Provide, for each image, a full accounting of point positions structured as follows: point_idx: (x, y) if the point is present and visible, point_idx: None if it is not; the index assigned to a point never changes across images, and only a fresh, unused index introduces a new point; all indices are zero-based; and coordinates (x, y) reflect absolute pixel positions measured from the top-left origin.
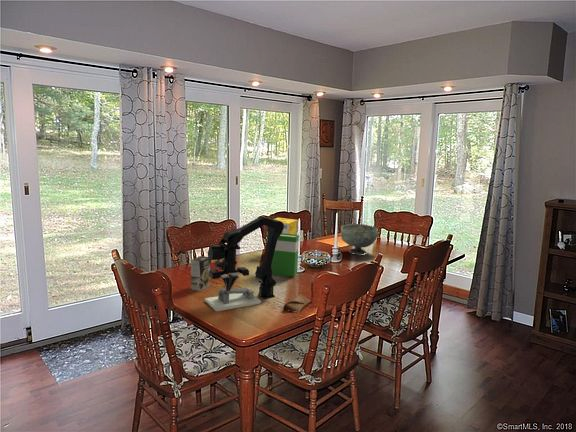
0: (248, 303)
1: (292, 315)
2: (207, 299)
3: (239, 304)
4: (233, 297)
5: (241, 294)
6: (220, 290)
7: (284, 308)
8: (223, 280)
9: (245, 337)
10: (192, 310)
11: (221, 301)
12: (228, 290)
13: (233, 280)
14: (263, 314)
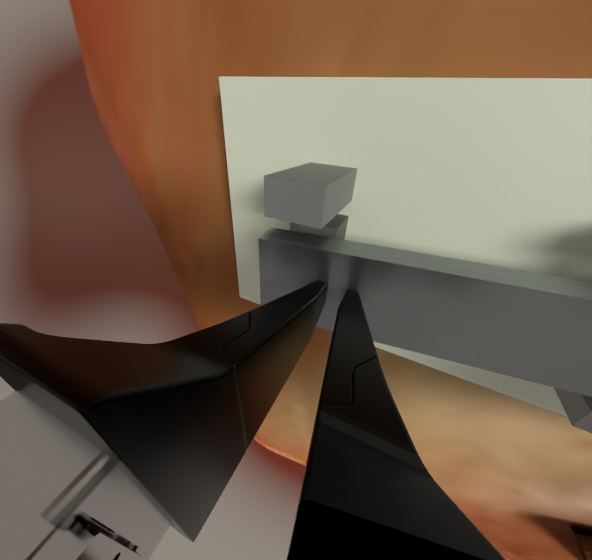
0: (461, 374)
1: (528, 546)
2: (228, 124)
3: (383, 349)
4: (463, 219)
5: None
6: (278, 209)
7: (581, 542)
8: (196, 340)
9: (262, 441)
10: (157, 202)
11: None
12: (328, 310)
13: (316, 509)
14: (420, 451)
